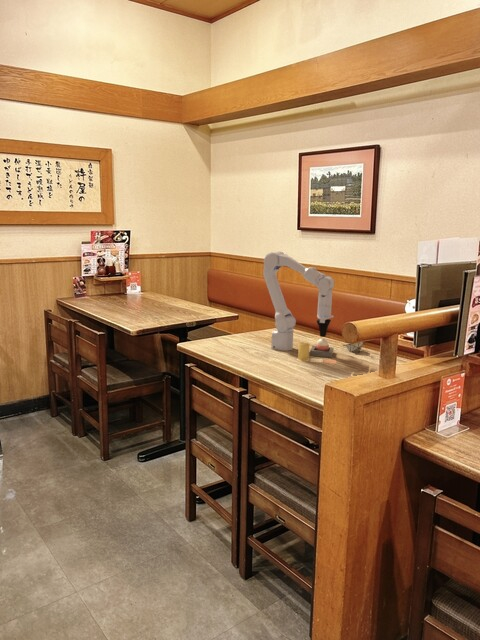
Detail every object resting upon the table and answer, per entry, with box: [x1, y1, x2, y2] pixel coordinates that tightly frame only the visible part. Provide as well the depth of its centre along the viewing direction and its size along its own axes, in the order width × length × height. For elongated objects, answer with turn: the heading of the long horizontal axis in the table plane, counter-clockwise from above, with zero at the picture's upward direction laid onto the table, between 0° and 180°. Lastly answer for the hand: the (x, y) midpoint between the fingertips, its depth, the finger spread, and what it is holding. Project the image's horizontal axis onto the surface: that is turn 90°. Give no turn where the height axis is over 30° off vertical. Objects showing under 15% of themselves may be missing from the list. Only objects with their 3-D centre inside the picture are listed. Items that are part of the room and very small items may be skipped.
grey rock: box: [342, 341, 366, 353], centre depth 224 cm, size 9×8×10 cm
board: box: [296, 357, 337, 365], centre depth 212 cm, size 17×22×1 cm
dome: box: [315, 338, 330, 351], centre depth 216 cm, size 6×6×5 cm
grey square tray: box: [309, 345, 334, 359], centre depth 217 cm, size 9×9×2 cm
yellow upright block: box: [297, 342, 310, 362], centre depth 208 cm, size 4×4×6 cm
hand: (322, 336), depth 215 cm, fingers closed
